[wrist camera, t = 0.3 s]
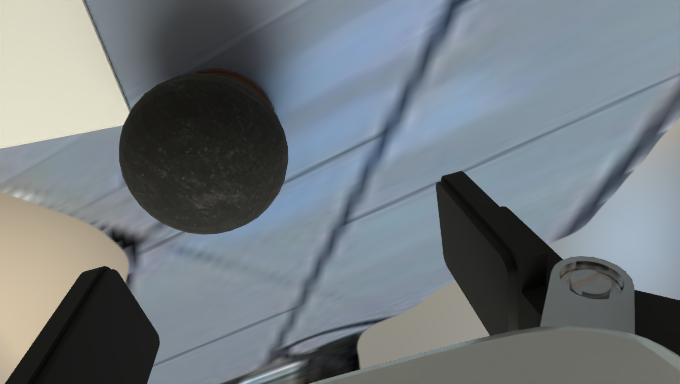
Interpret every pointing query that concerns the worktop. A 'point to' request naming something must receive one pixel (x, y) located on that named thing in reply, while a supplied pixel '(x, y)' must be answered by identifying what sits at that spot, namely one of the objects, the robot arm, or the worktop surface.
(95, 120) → the mat
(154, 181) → the dark ball on base
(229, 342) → the worktop surface
